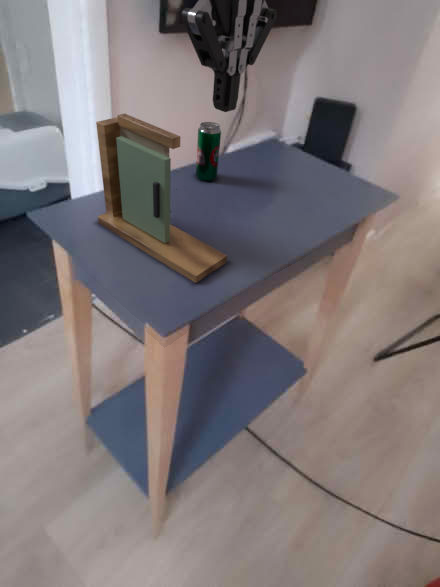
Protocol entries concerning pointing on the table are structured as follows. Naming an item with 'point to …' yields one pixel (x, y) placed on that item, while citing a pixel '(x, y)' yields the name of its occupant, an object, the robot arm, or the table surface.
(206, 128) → the soda can
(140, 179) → the door
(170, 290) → the table surface
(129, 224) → the door frame
